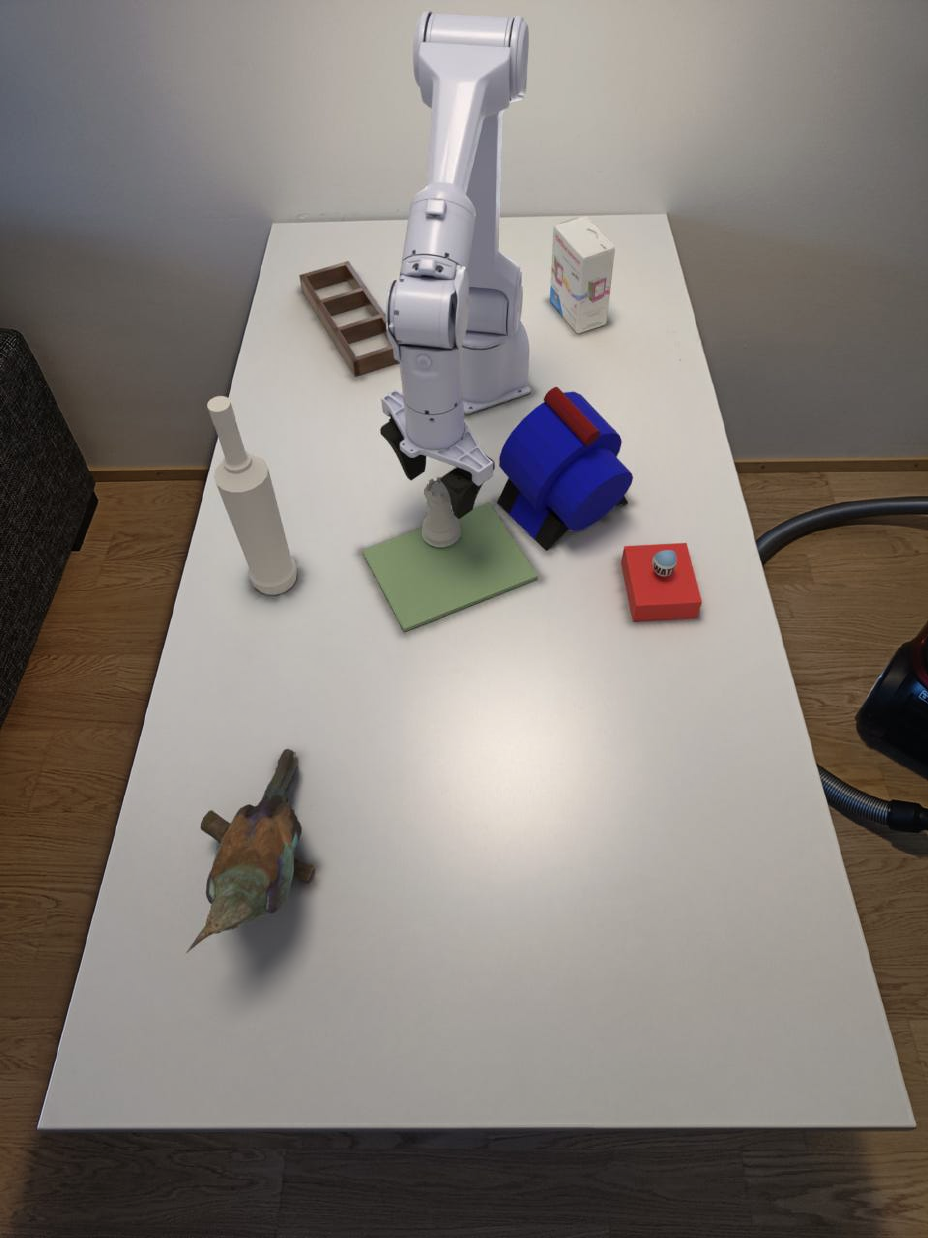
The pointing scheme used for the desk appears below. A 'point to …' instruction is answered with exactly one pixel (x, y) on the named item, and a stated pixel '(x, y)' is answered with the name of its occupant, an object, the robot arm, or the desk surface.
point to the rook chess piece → (439, 516)
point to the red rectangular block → (660, 582)
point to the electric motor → (562, 468)
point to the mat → (448, 569)
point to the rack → (346, 303)
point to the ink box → (581, 273)
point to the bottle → (251, 505)
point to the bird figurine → (254, 856)
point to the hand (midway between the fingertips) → (439, 493)
